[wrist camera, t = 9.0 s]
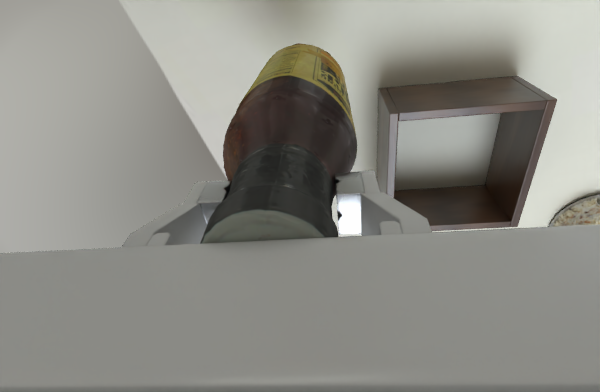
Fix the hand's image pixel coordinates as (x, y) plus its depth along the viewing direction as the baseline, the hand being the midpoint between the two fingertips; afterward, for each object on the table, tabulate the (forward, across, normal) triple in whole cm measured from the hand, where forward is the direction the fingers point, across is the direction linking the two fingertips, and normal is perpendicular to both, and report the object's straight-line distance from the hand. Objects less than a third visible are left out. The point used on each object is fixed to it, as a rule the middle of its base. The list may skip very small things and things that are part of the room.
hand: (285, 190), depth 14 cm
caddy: (+24, -14, +11) cm, 30 cm away
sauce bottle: (+15, 0, 0) cm, 15 cm away
